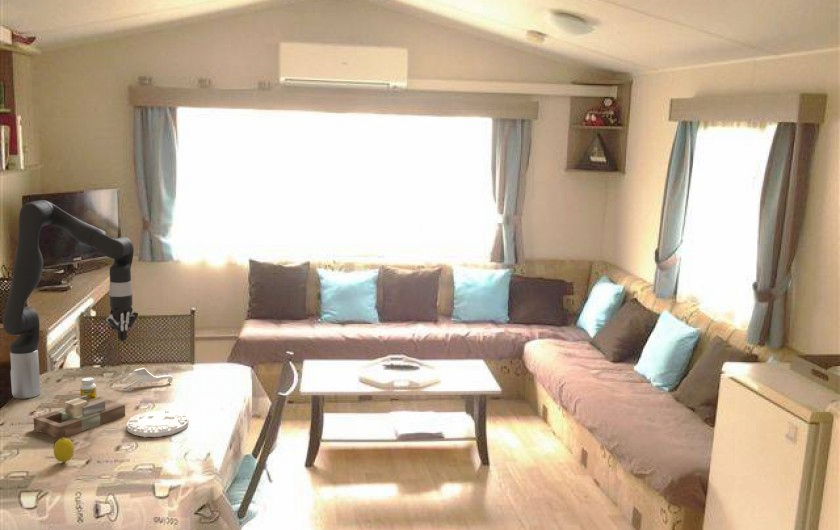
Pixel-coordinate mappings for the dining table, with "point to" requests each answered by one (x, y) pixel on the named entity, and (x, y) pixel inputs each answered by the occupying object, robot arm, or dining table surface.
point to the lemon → (63, 449)
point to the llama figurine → (145, 377)
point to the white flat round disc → (157, 423)
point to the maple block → (75, 407)
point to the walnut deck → (79, 417)
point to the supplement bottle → (88, 388)
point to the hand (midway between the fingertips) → (122, 340)
